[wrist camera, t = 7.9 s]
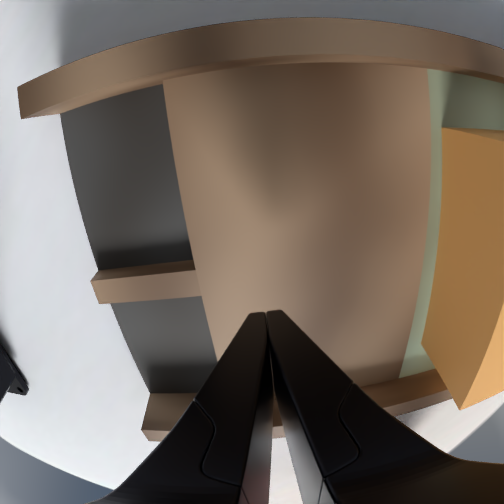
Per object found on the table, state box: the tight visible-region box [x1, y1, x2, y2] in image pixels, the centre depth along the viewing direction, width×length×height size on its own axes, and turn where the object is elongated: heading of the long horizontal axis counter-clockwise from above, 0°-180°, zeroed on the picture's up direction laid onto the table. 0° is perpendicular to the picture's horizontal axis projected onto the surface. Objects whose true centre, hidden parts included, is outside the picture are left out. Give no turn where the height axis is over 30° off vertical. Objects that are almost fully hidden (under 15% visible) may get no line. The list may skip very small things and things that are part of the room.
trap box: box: [17, 17, 504, 442], centre depth 10 cm, size 24×15×2 cm, turn 96°
